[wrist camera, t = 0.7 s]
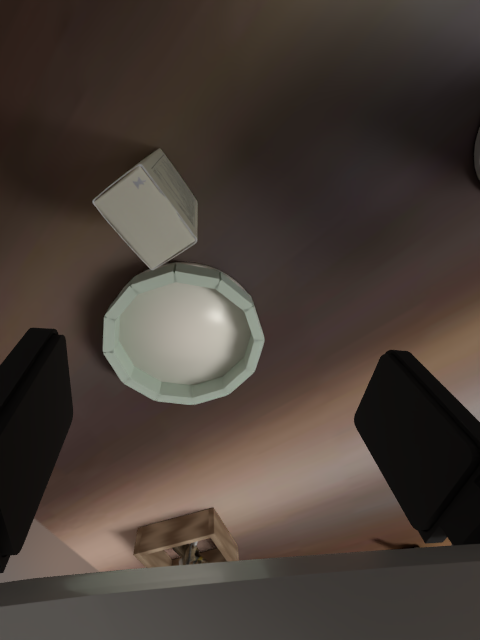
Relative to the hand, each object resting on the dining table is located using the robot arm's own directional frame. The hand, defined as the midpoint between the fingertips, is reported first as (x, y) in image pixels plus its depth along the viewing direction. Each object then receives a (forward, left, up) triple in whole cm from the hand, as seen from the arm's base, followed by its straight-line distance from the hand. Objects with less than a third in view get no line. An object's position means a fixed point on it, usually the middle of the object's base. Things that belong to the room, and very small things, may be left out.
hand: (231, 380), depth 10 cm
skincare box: (+4, -2, -28) cm, 28 cm away
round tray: (+8, +14, -28) cm, 32 cm away
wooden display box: (+25, +59, -28) cm, 70 cm away
